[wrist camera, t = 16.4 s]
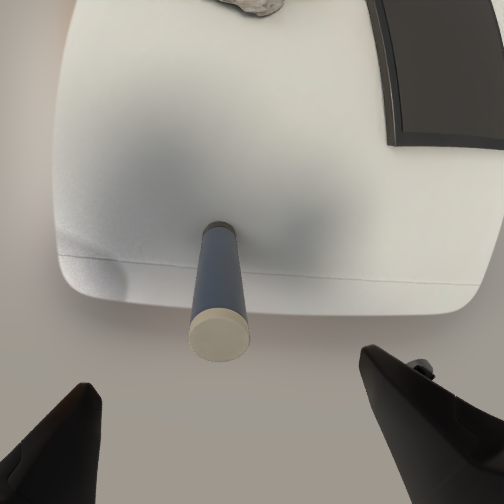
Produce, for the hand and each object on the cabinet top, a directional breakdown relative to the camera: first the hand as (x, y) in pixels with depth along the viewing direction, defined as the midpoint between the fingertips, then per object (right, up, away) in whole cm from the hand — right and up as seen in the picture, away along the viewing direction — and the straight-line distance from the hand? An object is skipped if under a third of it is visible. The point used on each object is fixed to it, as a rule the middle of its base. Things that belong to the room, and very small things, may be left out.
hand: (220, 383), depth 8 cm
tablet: (+15, +27, +3) cm, 31 cm away
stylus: (-1, +5, +11) cm, 12 cm away
